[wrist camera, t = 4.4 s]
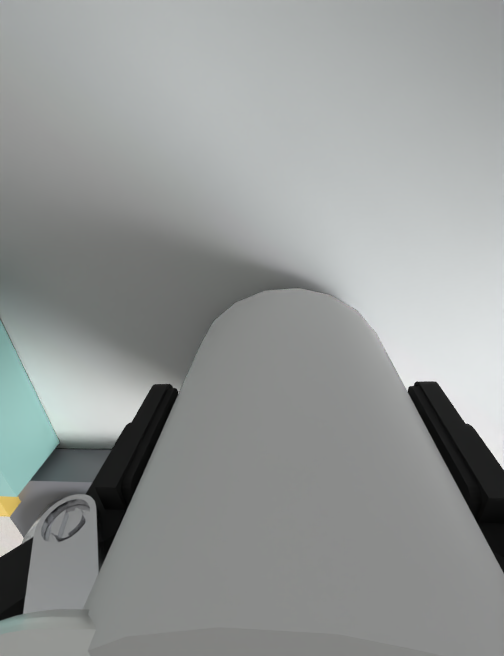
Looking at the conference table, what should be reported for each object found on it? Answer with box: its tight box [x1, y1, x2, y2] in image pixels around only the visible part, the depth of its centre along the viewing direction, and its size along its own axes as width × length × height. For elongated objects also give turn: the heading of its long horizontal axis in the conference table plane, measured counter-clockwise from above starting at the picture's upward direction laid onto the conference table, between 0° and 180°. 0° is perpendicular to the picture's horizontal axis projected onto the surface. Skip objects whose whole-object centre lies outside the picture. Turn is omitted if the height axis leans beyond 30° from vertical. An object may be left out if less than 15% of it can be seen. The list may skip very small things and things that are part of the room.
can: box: [83, 288, 504, 656], centre depth 9 cm, size 8×8×12 cm
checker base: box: [0, 449, 111, 537], centre depth 19 cm, size 11×11×3 cm
